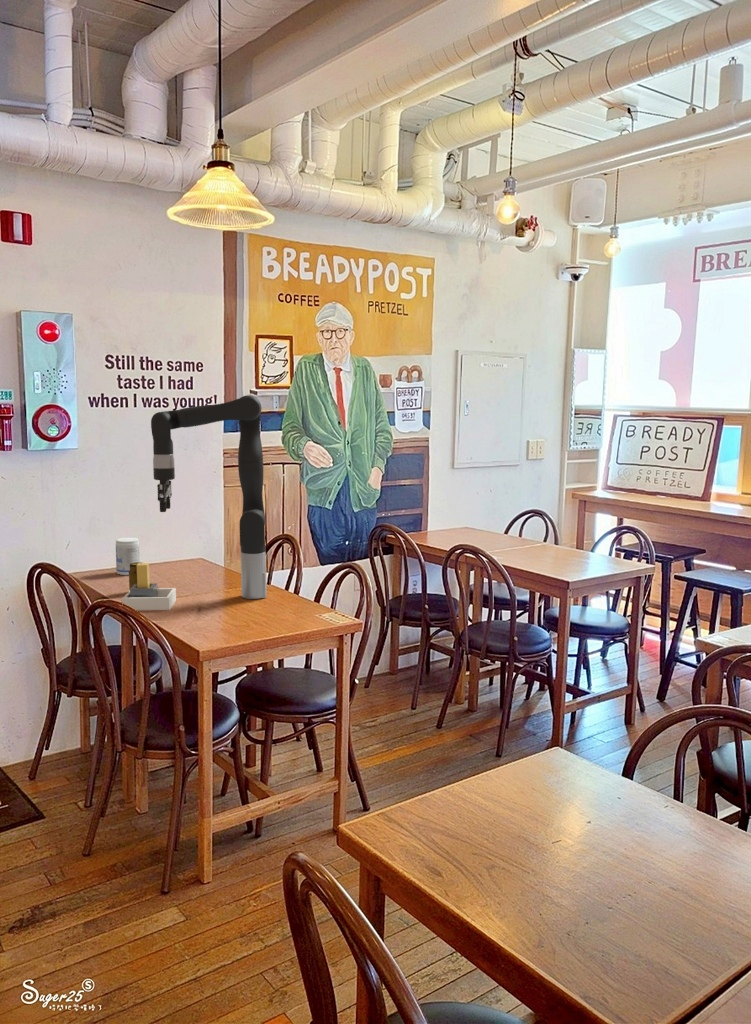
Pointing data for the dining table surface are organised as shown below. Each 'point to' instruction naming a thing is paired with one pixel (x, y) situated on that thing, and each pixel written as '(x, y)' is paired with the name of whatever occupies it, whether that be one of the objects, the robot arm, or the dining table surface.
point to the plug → (143, 575)
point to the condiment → (133, 574)
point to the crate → (152, 600)
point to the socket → (144, 591)
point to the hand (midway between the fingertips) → (165, 510)
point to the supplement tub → (126, 554)
